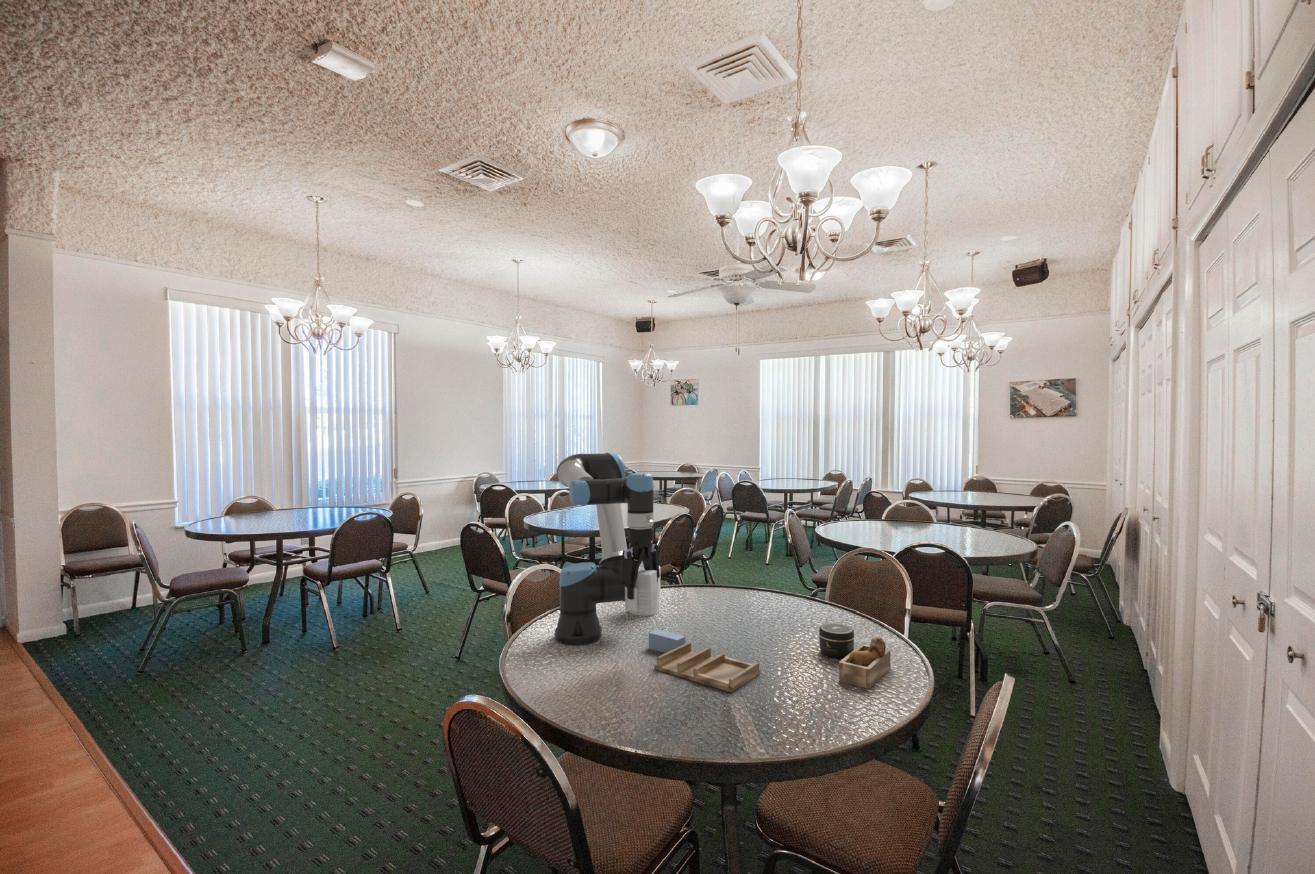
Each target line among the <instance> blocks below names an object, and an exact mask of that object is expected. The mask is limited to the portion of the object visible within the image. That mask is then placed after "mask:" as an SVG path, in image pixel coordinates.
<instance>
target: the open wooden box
mask: <svg viewBox="0 0 1315 874" xmlns="http://www.w3.org/2000/svg"><path fill="white" fill-rule="evenodd" d="M869 648H870V645H869V644H863V643H861V644H859V645H858V646H857V647H856V648H854V650H853V651H866V650H868V649H869ZM853 651H852V652H853ZM849 656H850V654H849V655H847V656H846V657H845V658H844V659H840V661H839V662H838V672H839V673H838V681H839V682H842V683H845V684H848V685H854V686H857V687H860V688H864V689H869V690H870V689H872V688H873V686H874V685H876V683H877V682H878V681H879V680H881V678H882V677H883V676H884V675H886V673H887V672H888V671H889V670H890V669H891V668H892V667H891V662H892V661H891V649H888V648H886V651H885V655H884V656H883V657H884V658H883V657H878V658H877V659H875V660H874V661H873V662H872V663H871V664H870V665H869V666H868V665H867V666H864V664H862V666H860V665H855V663H854V664H851V663H848V659H849Z"/></svg>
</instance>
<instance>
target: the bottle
mask: <svg viewBox="0 0 1315 874" xmlns="http://www.w3.org/2000/svg"><path fill="white" fill-rule="evenodd" d="M636 561H637V560H636ZM640 568H641V570H645V569H644V565H643V562H641V564H640ZM659 572H660V573H661V566H660V565H659ZM657 579H658V581H657V607H656V608H654V609H653V610H652V611H640V610H637V611H632V610H629V613H630V614H632V615H636V616H643V617H644V616H654V615H657V614H659V613H660V612H661V576H660V577H659V578H657Z"/></svg>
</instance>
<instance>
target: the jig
mask: <svg viewBox="0 0 1315 874" xmlns="http://www.w3.org/2000/svg"><path fill="white" fill-rule="evenodd" d="M654 670H657V671H660V672H663V673H666V674H670V675H673V676H676V677H680V678H683V679H686V680H690V681H692V682H696V683H700V684H703V685H706V686H710V687H712V688H716V689H718V690H722V691H726V692H727V693H728V692H729V693H734V692H735V691H737V689H739V688H741V687H742V686H743V685H745V684H747V683H748V682H750V681H751V680H753V679H754V678H756V677H757V676H758V675H760V674H761V669H760V662H757V661H755V662H754V663H750V662H746V661H744V660H739V659H734V658H731V657H727V656H726V655H725V653H720V654H718V655H715V656H712V648H711V647H708V646H707V647H706V648H704V649H701V650H700V651H698V652H696V651H692V642H690V641H688V642H686V644H683V645H681V646H679V647H677V648H675V649H673V650H671V651H669V652H667V653H663V654H661V655H659V656H657V657H656V664H655V665H654Z"/></svg>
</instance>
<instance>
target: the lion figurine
mask: <svg viewBox="0 0 1315 874" xmlns="http://www.w3.org/2000/svg"><path fill="white" fill-rule="evenodd" d="M869 646H870V648H869V649H868V650H866V651H853V652H851V653H850V656H849V659H848V663H851V664H854V663H855V665H860V666H863V665H865V666H867V667H868V666H869V665H870V664H871V663H872V662H873V661H874V660H875V659H877V658H878V657H883V656H884V655H885V651H886V649H887V648H886V641H885V640H884V639H883V638H882V637H879V636H875V637H873V638H871V639H870V645H869ZM883 658H884V657H883ZM862 664H863V665H862Z"/></svg>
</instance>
